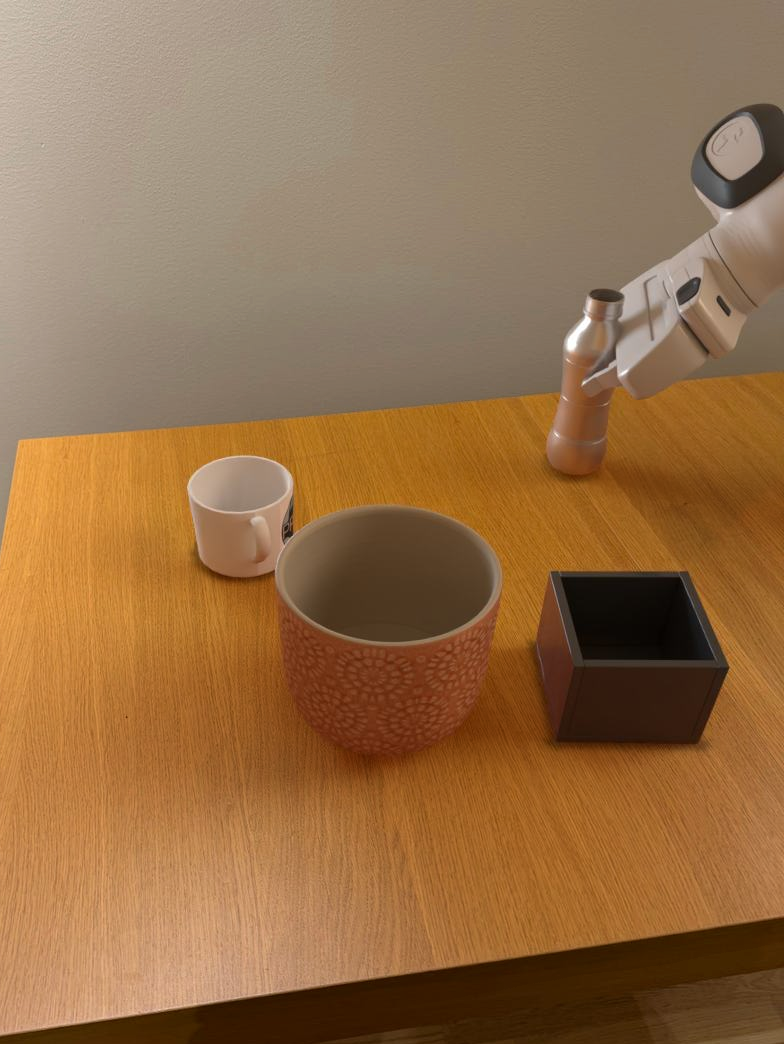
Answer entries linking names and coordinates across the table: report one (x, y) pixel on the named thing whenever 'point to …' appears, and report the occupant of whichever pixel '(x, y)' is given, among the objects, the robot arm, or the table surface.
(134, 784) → the table surface
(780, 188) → the robot arm
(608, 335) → the silver metal bottle
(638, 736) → the dark square storage bin
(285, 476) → the mug
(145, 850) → the table surface
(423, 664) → the planter
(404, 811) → the table surface
